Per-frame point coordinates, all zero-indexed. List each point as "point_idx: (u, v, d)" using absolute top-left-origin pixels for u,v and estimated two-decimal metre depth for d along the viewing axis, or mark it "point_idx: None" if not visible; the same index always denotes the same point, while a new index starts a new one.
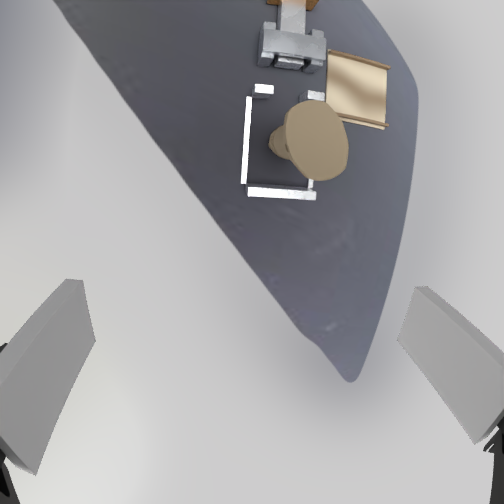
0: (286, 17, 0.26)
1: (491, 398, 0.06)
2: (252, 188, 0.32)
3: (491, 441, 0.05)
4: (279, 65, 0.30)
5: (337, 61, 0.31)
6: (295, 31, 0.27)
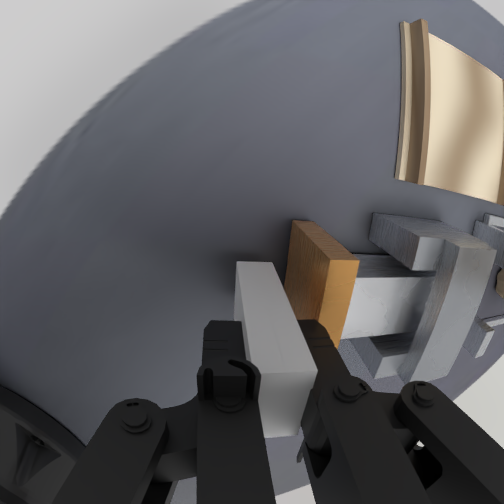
0: (386, 323, 0.12)
1: None
2: None
3: (300, 453, 0.06)
4: None
5: None
6: (425, 299, 0.12)
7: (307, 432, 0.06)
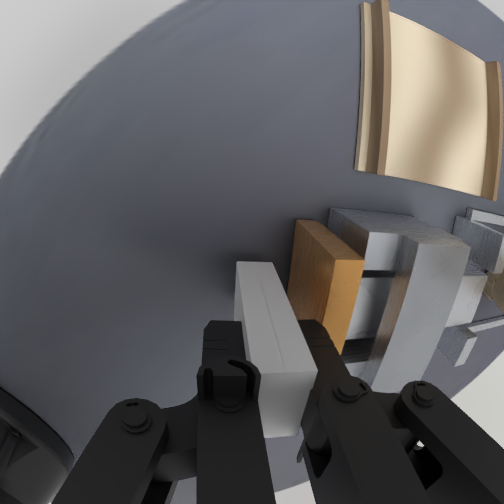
0: None
1: None
2: None
3: (300, 453, 0.06)
4: None
5: (389, 147, 0.12)
6: None
7: (307, 432, 0.06)
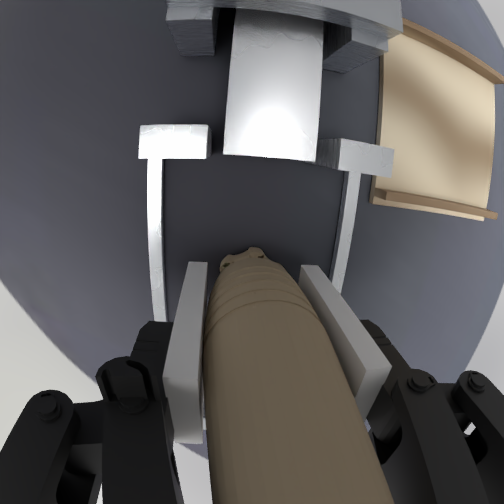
0: None
1: None
2: None
3: None
4: None
5: (405, 47, 0.10)
6: (289, 31, 0.07)
7: (376, 422, 0.06)
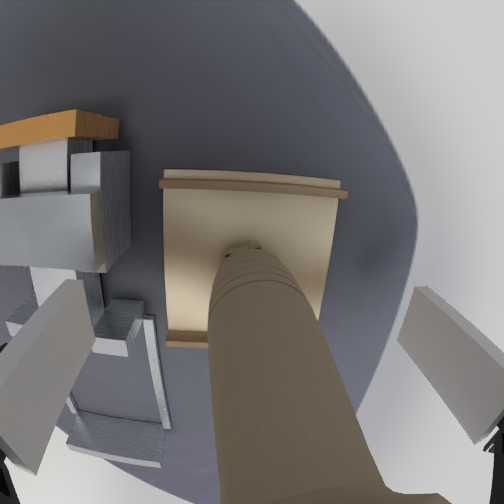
0: None
1: (491, 398, 0.06)
2: (71, 445, 0.16)
3: (491, 441, 0.05)
4: None
5: (189, 201, 0.14)
6: None
7: None
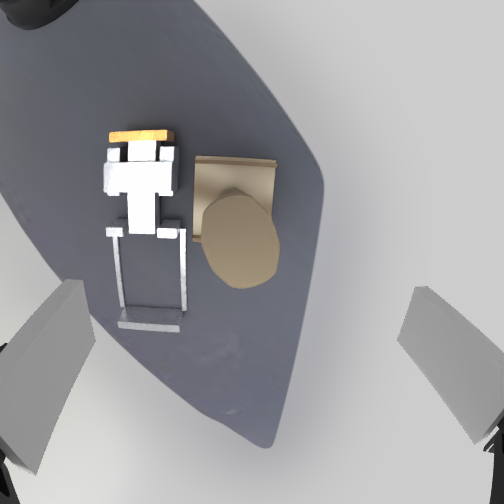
0: None
1: (491, 398, 0.06)
2: (120, 322, 0.33)
3: (491, 441, 0.05)
4: None
5: (206, 170, 0.31)
6: (143, 192, 0.29)
7: None
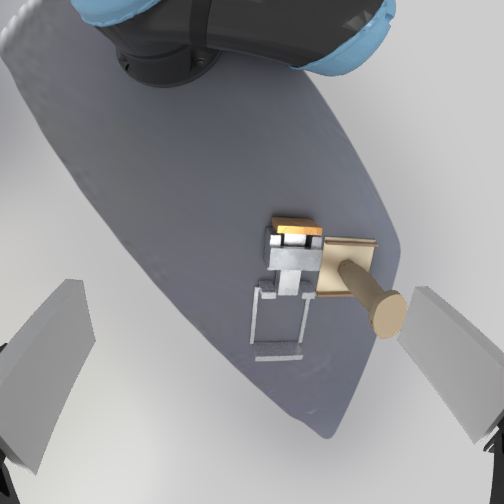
0: None
1: (491, 398, 0.06)
2: (258, 357, 0.46)
3: (491, 441, 0.05)
4: None
5: (331, 247, 0.44)
6: None
7: None
